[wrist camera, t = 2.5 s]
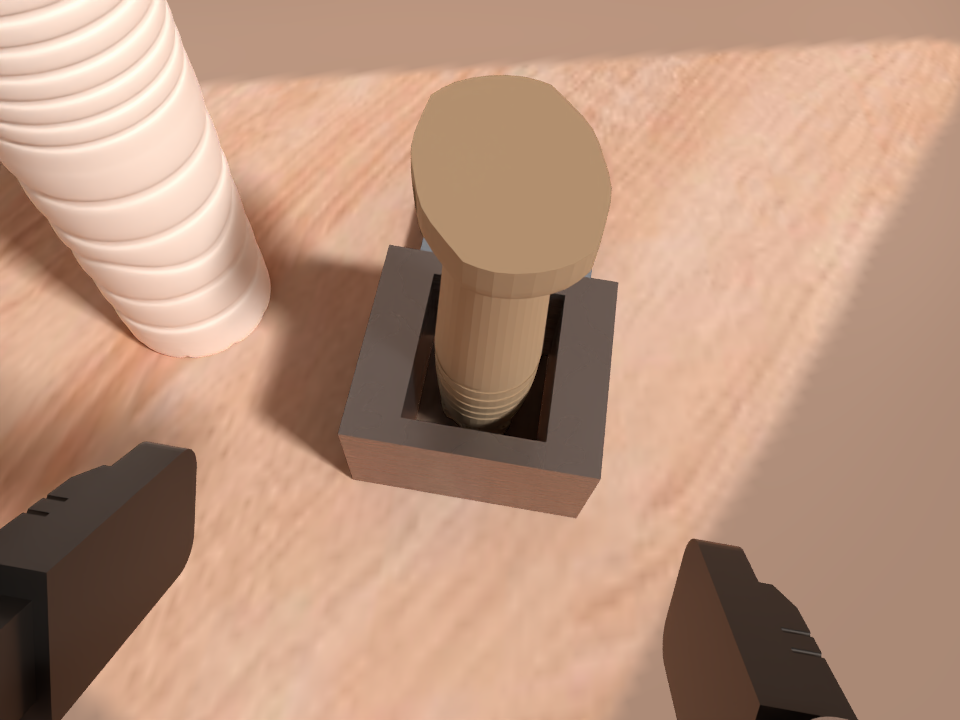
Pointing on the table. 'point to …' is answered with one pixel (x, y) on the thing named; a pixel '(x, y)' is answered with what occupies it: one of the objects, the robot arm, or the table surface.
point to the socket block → (469, 453)
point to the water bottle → (130, 168)
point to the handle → (503, 231)
